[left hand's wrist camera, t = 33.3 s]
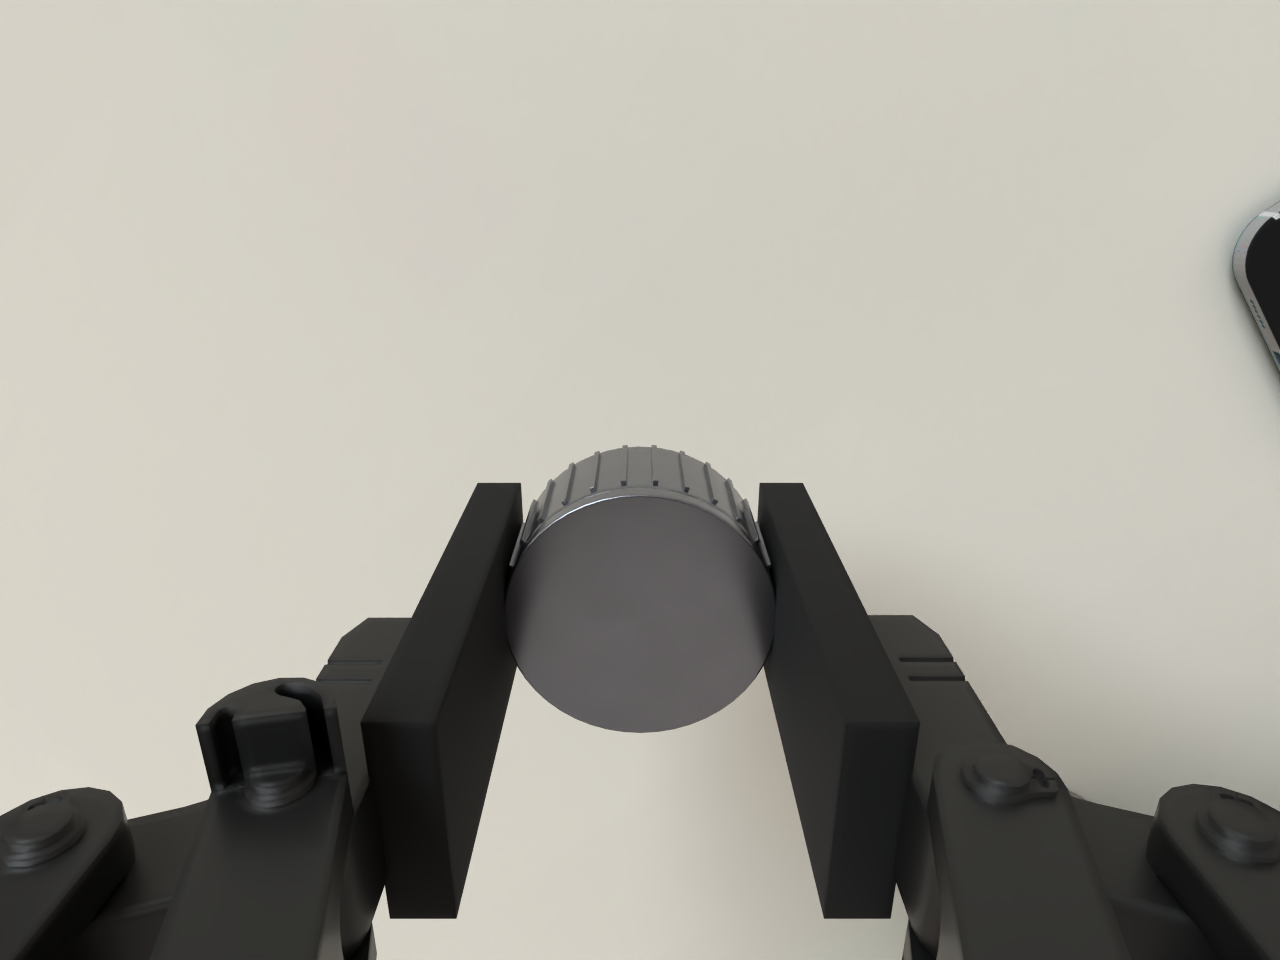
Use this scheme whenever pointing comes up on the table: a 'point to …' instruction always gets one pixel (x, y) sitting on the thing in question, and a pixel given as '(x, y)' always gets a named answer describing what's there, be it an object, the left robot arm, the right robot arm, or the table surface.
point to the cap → (640, 591)
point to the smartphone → (1262, 274)
